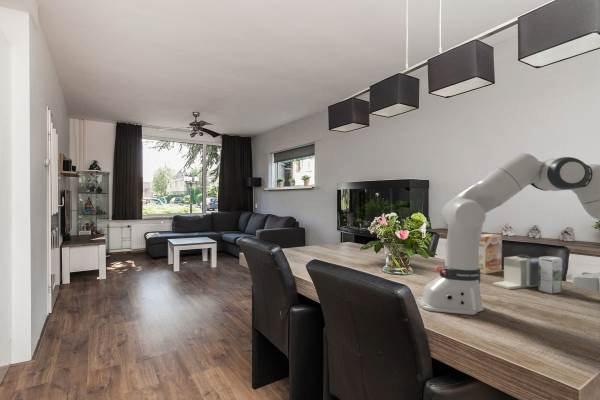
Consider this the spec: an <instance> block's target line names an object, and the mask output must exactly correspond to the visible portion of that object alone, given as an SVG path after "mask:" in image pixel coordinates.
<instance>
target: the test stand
mask: <svg viewBox="0 0 600 400" xmlns="http://www.w3.org/2000/svg"><path fill="white" fill-rule="evenodd" d="M527 256H528V255H527ZM528 257H530V256H528ZM533 258H535V256H534V257H533ZM527 259H529V258H524V257H518V255H514V256H505V257H503V281H495V282H492V286H494V287H495V286H496V287H499V288H502V289H506V290H516V289H521V288H522V289H523V288H531V287H538V285H539V284H537V285H526V264H527Z"/></svg>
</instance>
